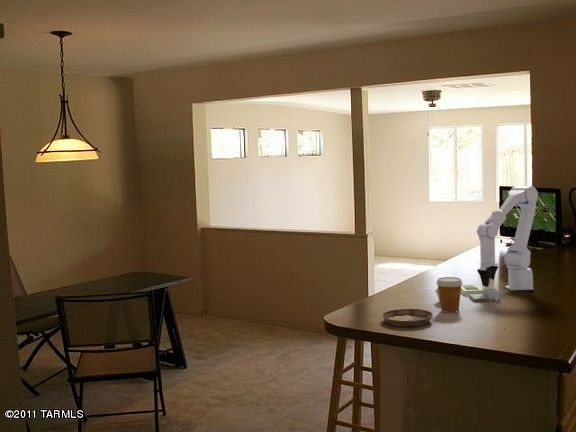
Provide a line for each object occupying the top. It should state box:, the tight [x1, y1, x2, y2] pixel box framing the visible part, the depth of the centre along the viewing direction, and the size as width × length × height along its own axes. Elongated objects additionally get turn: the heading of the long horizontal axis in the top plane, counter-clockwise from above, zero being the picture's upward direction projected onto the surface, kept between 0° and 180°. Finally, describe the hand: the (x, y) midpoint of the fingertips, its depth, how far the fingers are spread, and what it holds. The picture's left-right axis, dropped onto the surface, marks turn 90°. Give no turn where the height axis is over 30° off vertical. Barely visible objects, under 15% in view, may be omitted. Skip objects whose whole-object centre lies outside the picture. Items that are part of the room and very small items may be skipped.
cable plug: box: [485, 288, 500, 303], centre depth 240 cm, size 4×8×4 cm, turn 177°
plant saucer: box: [381, 308, 434, 327], centre depth 214 cm, size 18×18×3 cm
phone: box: [468, 294, 490, 303], centre depth 242 cm, size 6×9×1 cm, turn 177°
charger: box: [481, 278, 496, 296], centre depth 251 cm, size 4×4×7 cm
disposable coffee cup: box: [435, 276, 464, 313], centre depth 226 cm, size 10×10×12 cm
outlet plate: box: [460, 284, 484, 296], centre depth 256 cm, size 8×12×2 cm, turn 177°
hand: (488, 284), depth 251 cm, fingers open, 7 cm apart
